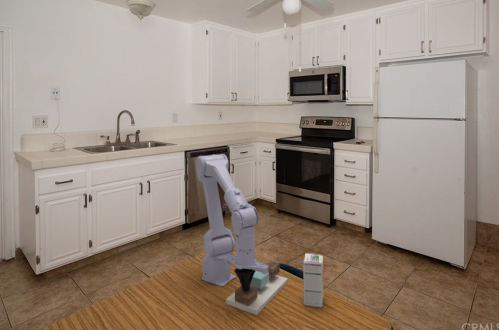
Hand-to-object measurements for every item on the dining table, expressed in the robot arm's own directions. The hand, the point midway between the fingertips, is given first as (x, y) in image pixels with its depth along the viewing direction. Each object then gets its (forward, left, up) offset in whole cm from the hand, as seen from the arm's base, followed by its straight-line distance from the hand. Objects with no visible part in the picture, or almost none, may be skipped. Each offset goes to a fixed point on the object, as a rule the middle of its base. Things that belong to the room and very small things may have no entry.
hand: (246, 289), depth 98 cm
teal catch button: (0, +7, -2) cm, 8 cm away
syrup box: (+17, +12, -5) cm, 21 cm away
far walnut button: (0, +15, -2) cm, 15 cm away
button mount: (0, +8, -5) cm, 9 cm away
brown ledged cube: (0, 0, -3) cm, 3 cm away
